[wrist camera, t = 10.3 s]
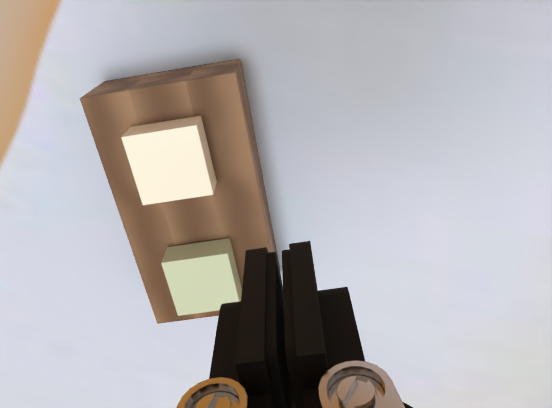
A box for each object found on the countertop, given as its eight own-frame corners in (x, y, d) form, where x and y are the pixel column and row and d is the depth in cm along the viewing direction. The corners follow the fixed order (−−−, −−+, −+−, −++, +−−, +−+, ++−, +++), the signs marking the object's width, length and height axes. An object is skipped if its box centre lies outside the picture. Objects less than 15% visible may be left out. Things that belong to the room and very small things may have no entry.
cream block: (208, 100, 41) (196, 125, 35) (221, 161, 43) (213, 194, 37) (144, 111, 41) (121, 137, 35) (161, 170, 44) (142, 205, 37)
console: (240, 58, 41) (235, 72, 36) (280, 270, 51) (281, 307, 45) (104, 81, 42) (79, 98, 36) (169, 286, 51) (157, 323, 46)
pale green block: (233, 214, 46) (227, 253, 39) (244, 262, 48) (240, 307, 42) (176, 222, 46) (161, 262, 40) (190, 270, 48) (178, 315, 42)
